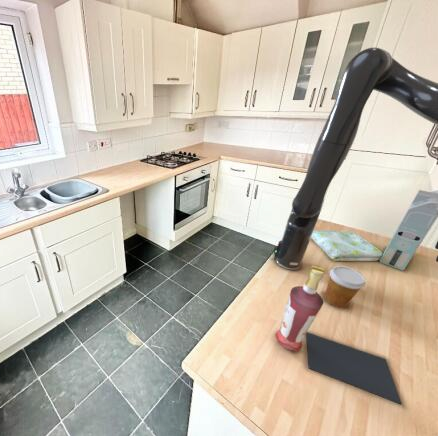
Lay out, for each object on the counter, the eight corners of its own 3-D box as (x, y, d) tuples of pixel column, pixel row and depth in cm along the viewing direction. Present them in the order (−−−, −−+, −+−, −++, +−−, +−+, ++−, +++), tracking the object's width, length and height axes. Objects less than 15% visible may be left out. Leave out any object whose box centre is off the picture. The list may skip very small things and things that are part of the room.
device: (387, 247, 112) (421, 186, 97) (410, 255, 107) (450, 191, 92) (378, 262, 103) (414, 197, 88) (403, 271, 98) (445, 204, 83)
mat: (308, 368, 65) (308, 367, 65) (305, 332, 74) (306, 331, 74) (401, 404, 57) (401, 403, 57) (385, 359, 67) (385, 358, 67)
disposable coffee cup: (348, 295, 87) (362, 269, 81) (355, 315, 79) (371, 288, 74) (317, 287, 91) (328, 262, 85) (321, 306, 83) (333, 279, 77)
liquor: (301, 358, 67) (337, 284, 54) (272, 346, 71) (299, 272, 57) (302, 338, 73) (335, 265, 59) (275, 327, 76) (301, 256, 63)
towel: (382, 262, 103) (387, 252, 100) (331, 262, 103) (335, 252, 101) (350, 238, 119) (355, 229, 116) (307, 238, 119) (310, 229, 117)
